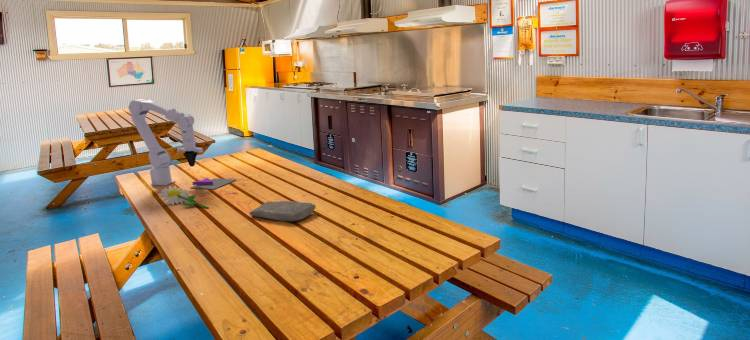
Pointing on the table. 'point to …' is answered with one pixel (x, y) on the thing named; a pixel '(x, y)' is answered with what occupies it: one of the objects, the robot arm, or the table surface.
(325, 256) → the table surface
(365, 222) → the table surface
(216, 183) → the mat
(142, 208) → the table surface
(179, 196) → the decorative flower
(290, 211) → the stone
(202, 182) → the arrowhead
